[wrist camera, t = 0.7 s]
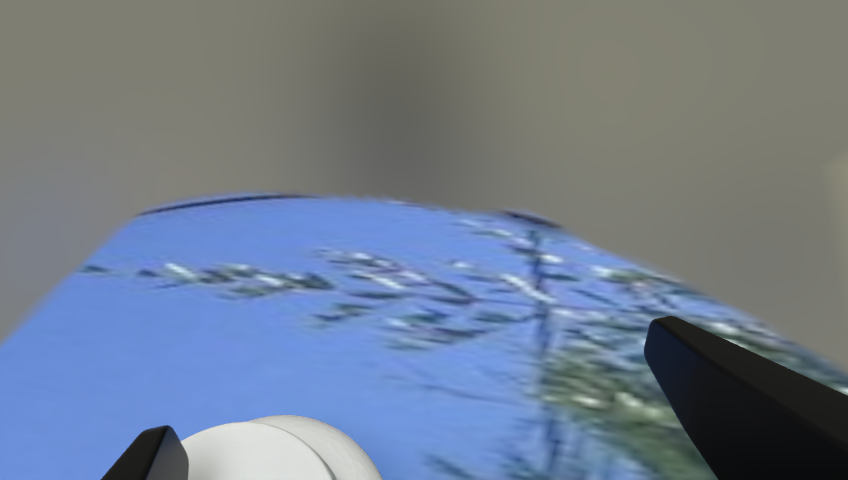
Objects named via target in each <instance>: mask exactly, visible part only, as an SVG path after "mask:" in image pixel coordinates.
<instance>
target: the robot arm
mask: <svg viewBox="0 0 848 480" xmlns="http://www.w3.org/2000/svg"><path fill="white" fill-rule="evenodd" d="M644 356H645V359H646V361H647V364H648V365H649V367H650V369H651V371H652V373H653V374H654V376H655V378H656V380H657V382H658V383H659V385H660V387H661V389H662V391H663V392H664V394H665V396H666V398H667V400H668V401H669V403H670V405H671V407H672V409H673V411H674V412H675V414H676V416H677V418H678V420H679V421H680V423H681V425H682V426H683V428H684V430H685V431H686V433H687V434H688V436H689V437H690V439H691V440H692V442H693V443H694V445H695V446H696V448H697V449H698V451H699V452H700V454H701V455H702V457H703V458H704V459H705V461H706V462H707V464H708V465H709V467H710V468H711V470H712V471H713V472H714V474H715V475H716V477H717V478H718V480H848V396H847V395H845V394H843V393H841V392H839V391H836V390H834V389H832V388H830V387H828V386H826V385H823V384H821V383H819V382H817V381H815V380H812V379H810V378H808V377H806V376H804V375H802V374H799V373H797V372H795V371H793V370H791V369H788V368H786V367H784V366H782V365H780V364H778V363H775V362H773V361H771V360H769V359H767V358H764V357H762V356H760V355H758V354H756V353H754V352H751V351H749V350H747V349H745V348H743V347H740V346H738V345H736V344H734V343H732V342H730V341H727V340H725V339H723V338H721V337H719V336H717V335H714V334H712V333H710V332H708V331H706V330H703V329H701V328H699V327H697V326H695V325H693V324H690V323H688V322H686V321H684V320H682V319H679V318H677V317H674V316H667V317H662V318H657V319H654V320H652V321H651V323H650V325H649V329H648V333H647V338H646V342H645V346H644ZM188 473H189V460H188V455H187V453H186V451H185V449H184V447H183V445H182V443H181V442H180V440H179V438H178V436H177V435H176V433H175V431H174V429H173V428H172V427H170V426H168V425H165V426H160V427H156V428H151V429H147V430H145V431H143V432H142V433H141V434H140V435H139V436H138V437H137V438H136V439H135V440H134V441H133V443H132V444H131V445H130V446H129V447H128V448H127V450H126V451H125V452H124V453H123V454H122V455H121V457H120V458H119V459H118V460H117V461H116V462H115V464H114V465H113V466H112V467H111V468H110V469H109V471H108V472H107V473H106V474H105V475H104V476H103V478H102V479H101V480H188Z"/></svg>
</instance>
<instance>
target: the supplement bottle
mask: <svg viewBox="0 0 848 480" xmlns="http://www.w3.org/2000/svg"><path fill="white" fill-rule="evenodd" d="M181 443H182V445H183V447H184V449H185V451H186V453H187V455H188V460H189V473H188V480H383V479H382V477H381V475H380V473H379V471H378V469H377V468H376V466H375V464H374V463H373V462H372V460H371V459H370V458H369V456H368V455H367V454H366V453H365V452H364V450H363V449H362V448H361V447H360V446H359V445H358V444H357V443H356V442H355V441H353V440H352V439H351V438H350V437H349V436H347V435H346V434H344V433H343V432H341V431H340V430H338V429H336V428H334V427H332V426H331V425H328V424H326V423H324V422H321V421H318V420H315V419H312V418H307V417H302V416H294V415H276V416H268V417H263V418H258V419H254V420H251V421H247V422H235V423H228V424H223V425H219V426H215V427H212V428H209V429H206V430H204V431H201V432H198V433H196V434H194V435H192V436H190V437H188V438H186V439H184V440H182V441H181Z"/></svg>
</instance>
